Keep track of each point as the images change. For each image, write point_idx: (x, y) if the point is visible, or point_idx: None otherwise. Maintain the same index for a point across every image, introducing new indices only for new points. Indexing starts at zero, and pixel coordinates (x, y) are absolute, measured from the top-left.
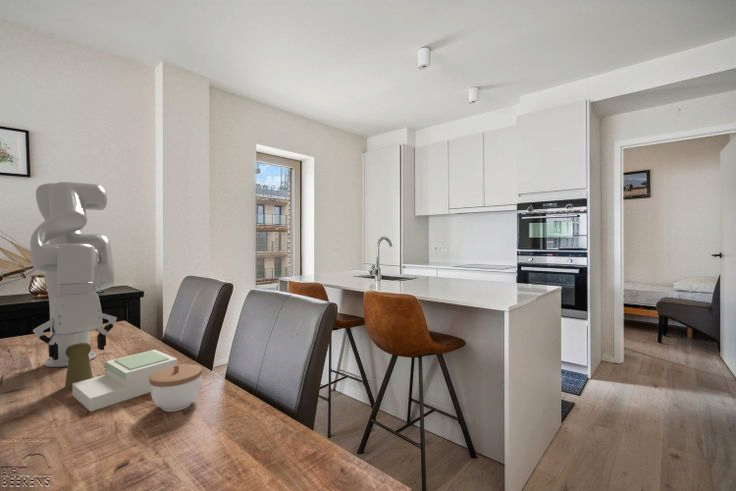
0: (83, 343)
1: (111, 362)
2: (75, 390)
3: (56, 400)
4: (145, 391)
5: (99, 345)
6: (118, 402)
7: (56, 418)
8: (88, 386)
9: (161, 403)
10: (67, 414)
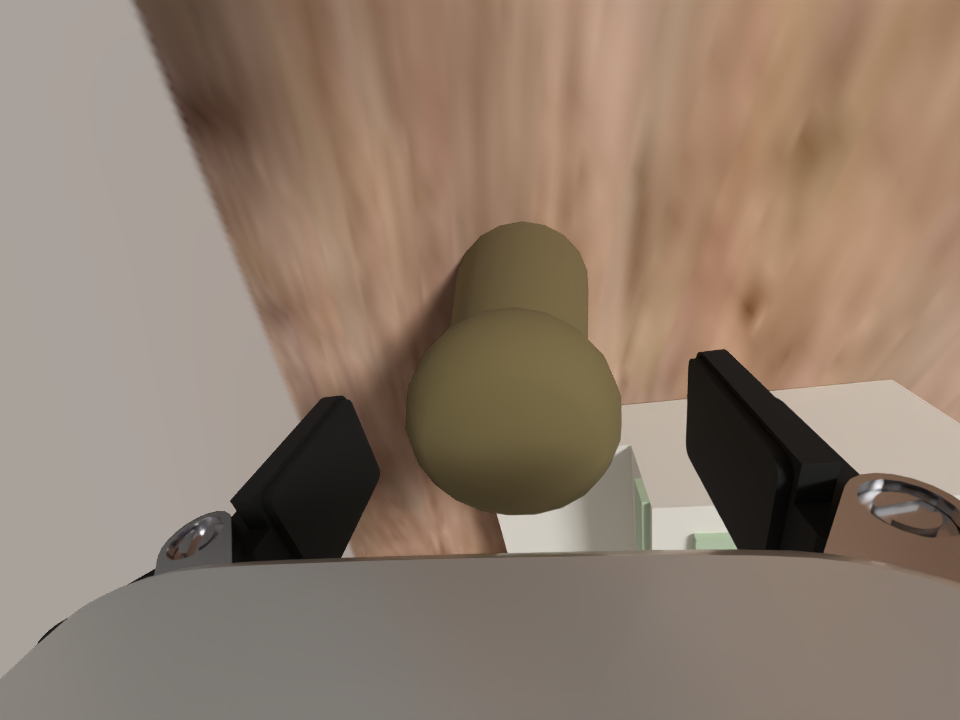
0: (557, 477)
1: (668, 546)
2: None
3: None
4: None
5: (704, 441)
6: None
7: (447, 550)
8: (534, 529)
9: None
10: (471, 547)
